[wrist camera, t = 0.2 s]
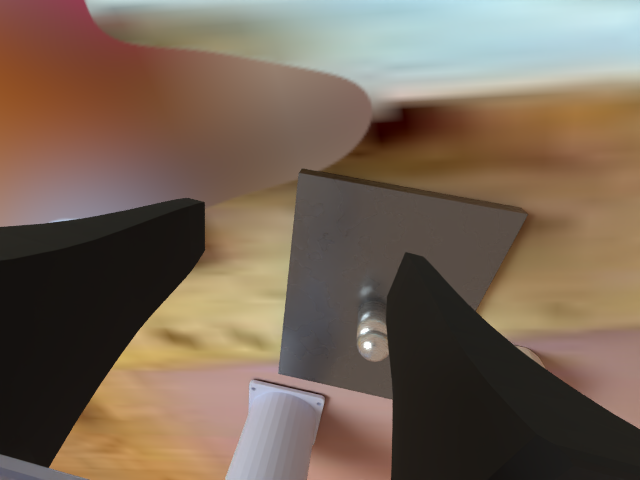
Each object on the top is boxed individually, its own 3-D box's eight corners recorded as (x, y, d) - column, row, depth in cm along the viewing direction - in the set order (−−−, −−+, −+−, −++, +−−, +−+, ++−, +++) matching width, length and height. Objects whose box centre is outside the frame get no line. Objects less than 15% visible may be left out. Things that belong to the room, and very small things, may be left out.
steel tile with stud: (422, 396, 28) (431, 456, 24) (281, 364, 29) (264, 417, 25) (520, 207, 18) (568, 250, 14) (302, 168, 19) (281, 196, 15)
